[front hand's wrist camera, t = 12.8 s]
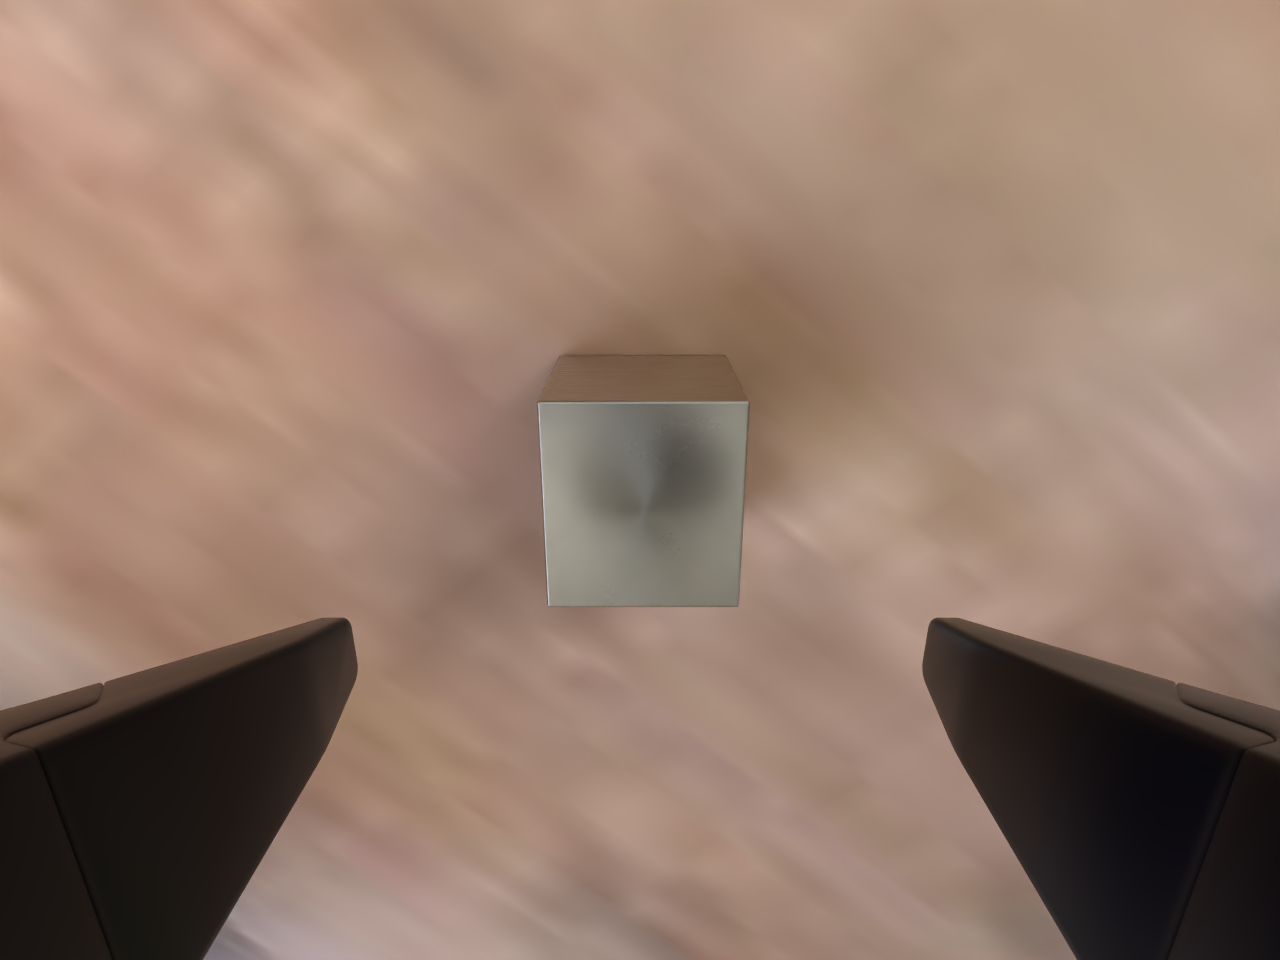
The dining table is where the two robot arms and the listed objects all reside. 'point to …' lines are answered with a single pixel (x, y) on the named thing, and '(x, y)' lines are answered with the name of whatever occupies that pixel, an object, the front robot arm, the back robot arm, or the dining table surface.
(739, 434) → the silver metal block
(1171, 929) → the front robot arm
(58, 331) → the dining table surface
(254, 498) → the dining table surface
